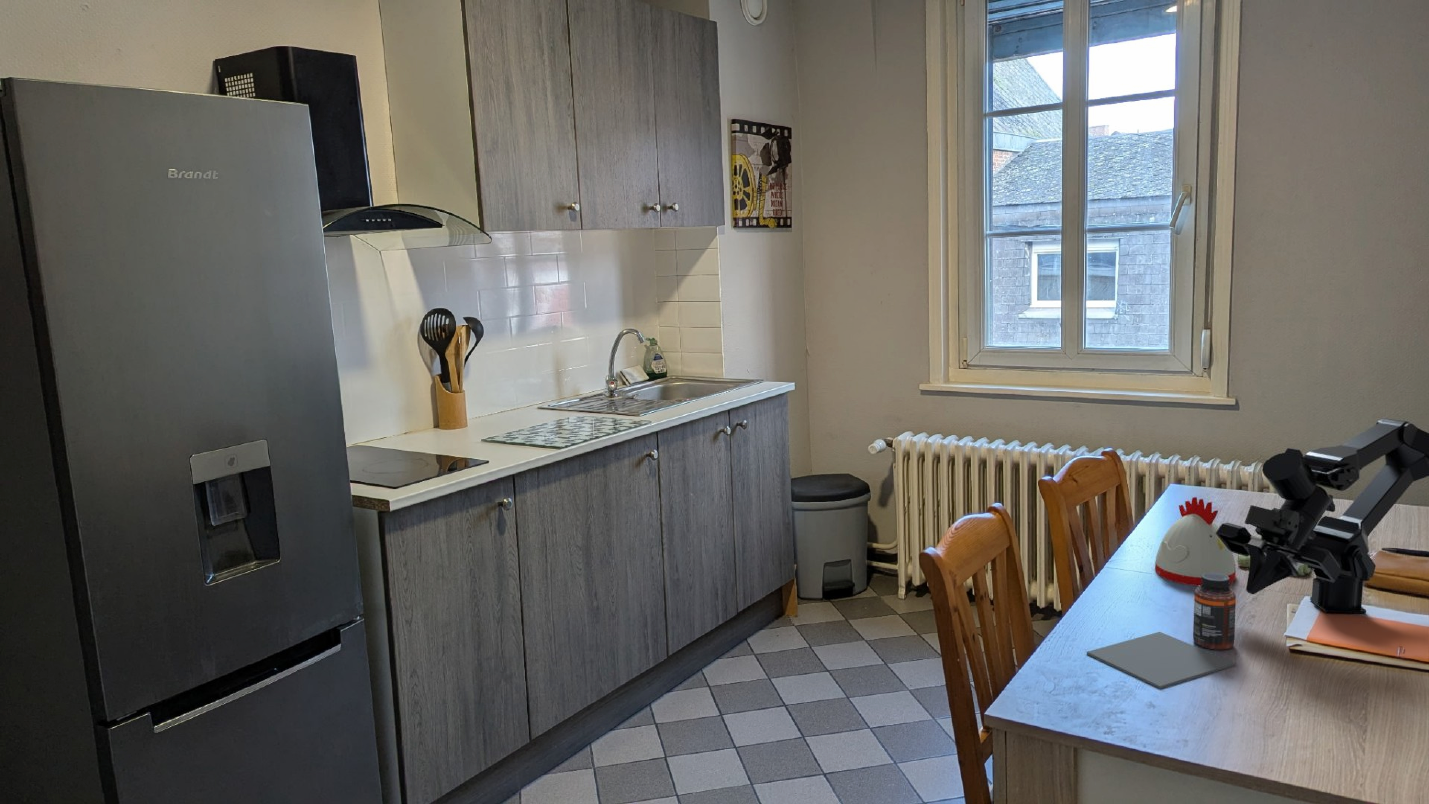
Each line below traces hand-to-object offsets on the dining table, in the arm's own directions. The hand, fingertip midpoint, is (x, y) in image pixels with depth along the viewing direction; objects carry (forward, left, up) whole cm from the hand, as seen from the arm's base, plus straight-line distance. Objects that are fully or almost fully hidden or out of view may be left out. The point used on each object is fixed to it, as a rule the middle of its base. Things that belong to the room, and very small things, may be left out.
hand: (1249, 592), depth 162 cm
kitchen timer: (-1, -30, -7) cm, 31 cm away
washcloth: (-19, -39, -8) cm, 44 cm away
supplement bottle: (+7, +4, -7) cm, 11 cm away
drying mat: (+17, +11, -7) cm, 21 cm away
